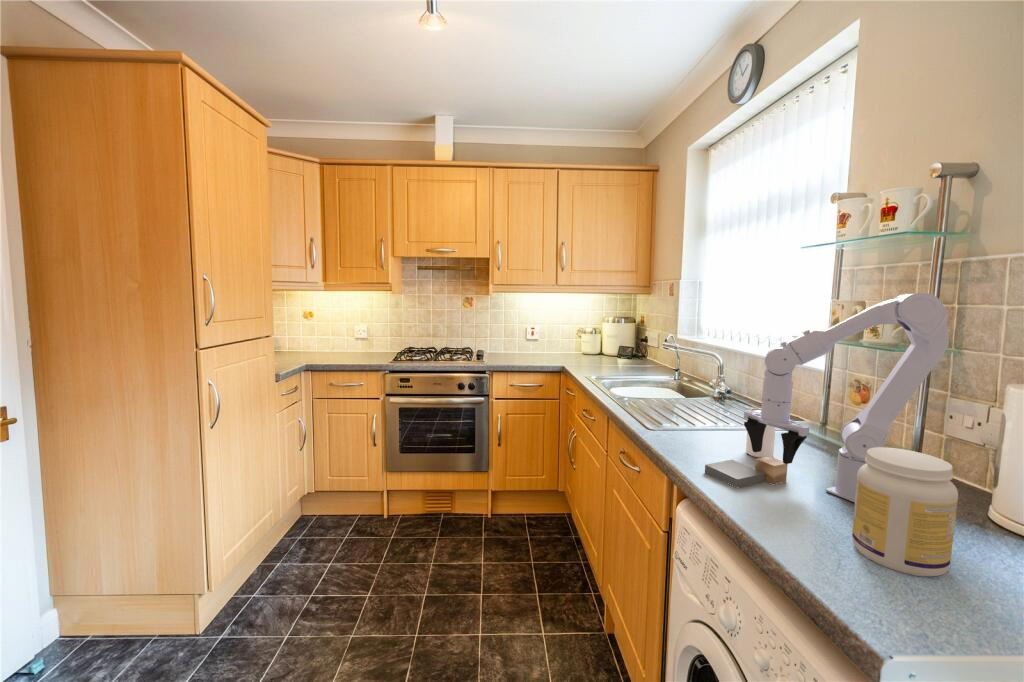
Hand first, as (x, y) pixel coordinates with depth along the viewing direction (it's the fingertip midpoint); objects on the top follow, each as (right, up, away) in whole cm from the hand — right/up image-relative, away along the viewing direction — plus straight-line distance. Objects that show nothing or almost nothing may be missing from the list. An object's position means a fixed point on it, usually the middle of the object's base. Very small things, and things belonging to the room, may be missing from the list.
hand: (771, 457), depth 102 cm
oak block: (0, -5, +1) cm, 5 cm away
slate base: (-8, -5, +1) cm, 10 cm away
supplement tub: (+3, -9, -29) cm, 31 cm away
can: (+6, -4, +16) cm, 18 cm away
